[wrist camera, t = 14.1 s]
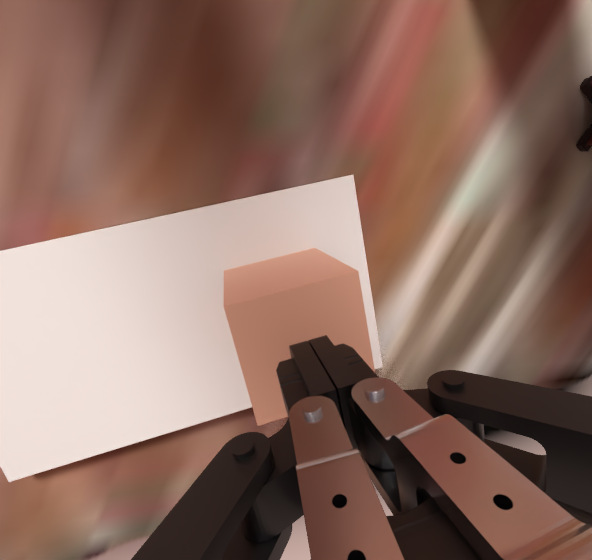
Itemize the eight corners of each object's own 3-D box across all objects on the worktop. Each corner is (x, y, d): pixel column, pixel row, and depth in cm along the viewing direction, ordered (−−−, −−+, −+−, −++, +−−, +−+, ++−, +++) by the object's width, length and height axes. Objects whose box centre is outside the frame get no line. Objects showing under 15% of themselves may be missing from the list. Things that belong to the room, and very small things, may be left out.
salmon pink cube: (247, 355, 21) (257, 426, 15) (223, 270, 20) (223, 306, 13) (331, 330, 22) (377, 387, 15) (314, 247, 21) (358, 270, 14)
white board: (23, 463, 22) (8, 481, 20) (-79, 268, 18) (-105, 274, 17) (373, 357, 25) (382, 366, 24) (344, 176, 22) (353, 174, 20)
